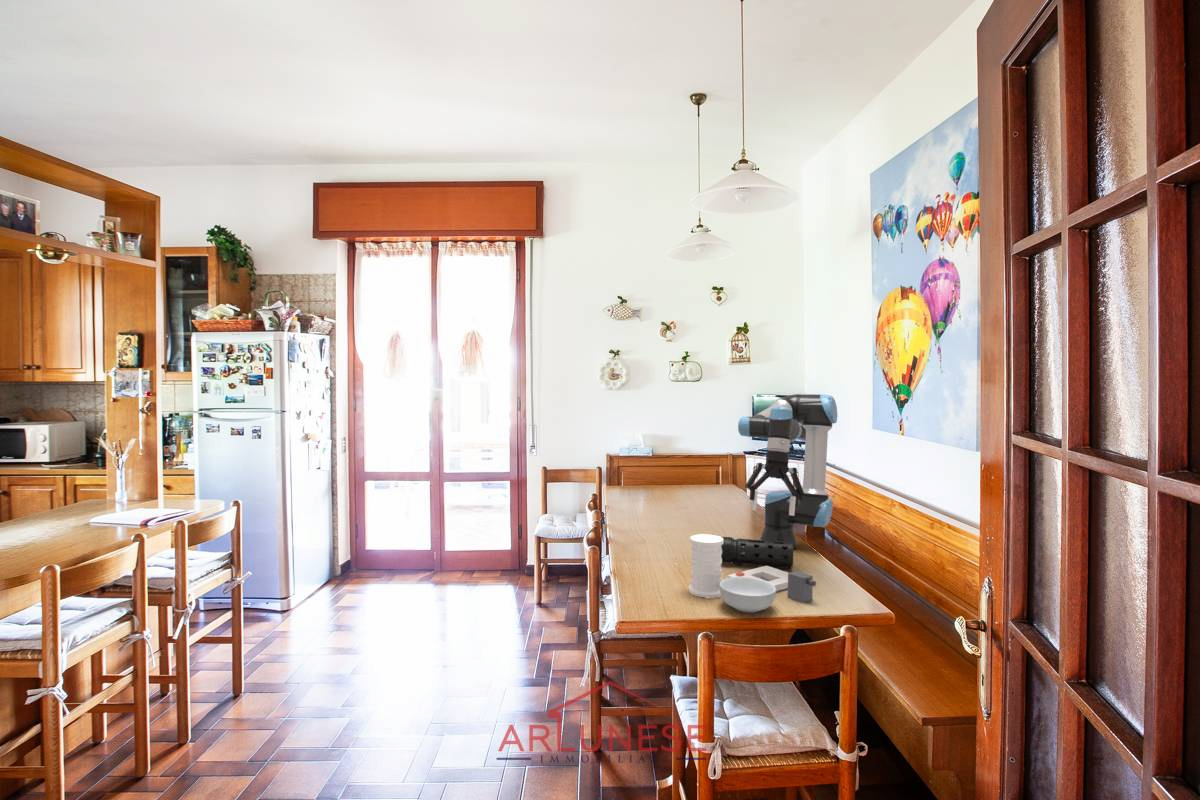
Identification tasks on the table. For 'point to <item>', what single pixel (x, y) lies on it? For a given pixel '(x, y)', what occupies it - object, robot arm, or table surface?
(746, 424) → the robot arm
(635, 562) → the table surface
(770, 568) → the socket plate
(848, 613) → the table surface
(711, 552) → the decorative container
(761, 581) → the cereal bowl
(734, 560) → the muzzle brake
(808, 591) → the plug
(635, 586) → the table surface
